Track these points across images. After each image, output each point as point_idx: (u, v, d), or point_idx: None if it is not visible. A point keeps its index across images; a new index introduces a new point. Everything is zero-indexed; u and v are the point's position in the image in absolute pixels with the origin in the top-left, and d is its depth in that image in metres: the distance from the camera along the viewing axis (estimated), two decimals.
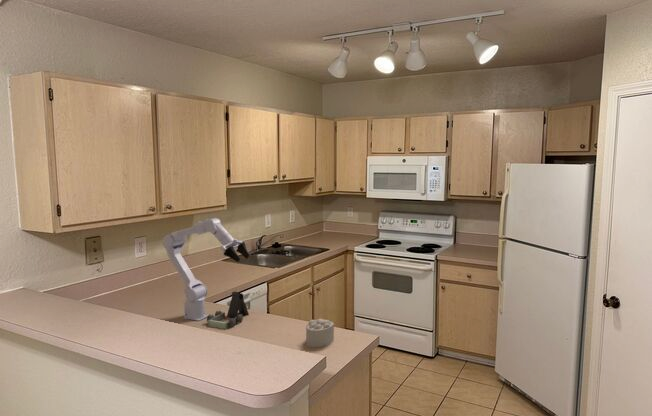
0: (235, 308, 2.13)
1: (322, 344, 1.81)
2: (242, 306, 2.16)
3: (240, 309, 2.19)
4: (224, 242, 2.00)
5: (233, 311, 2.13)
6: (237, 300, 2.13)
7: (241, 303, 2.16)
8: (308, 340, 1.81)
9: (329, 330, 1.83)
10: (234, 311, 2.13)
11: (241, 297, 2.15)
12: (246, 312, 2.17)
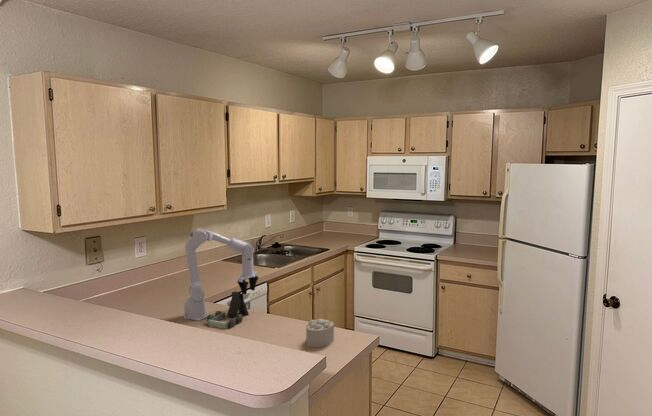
0: (235, 308, 2.13)
1: (322, 344, 1.81)
2: (242, 306, 2.16)
3: (240, 309, 2.19)
4: (245, 272, 2.21)
5: (233, 311, 2.13)
6: (237, 300, 2.13)
7: (241, 303, 2.16)
8: (308, 340, 1.81)
9: (329, 330, 1.83)
10: (234, 311, 2.13)
11: (241, 297, 2.15)
12: (246, 312, 2.17)
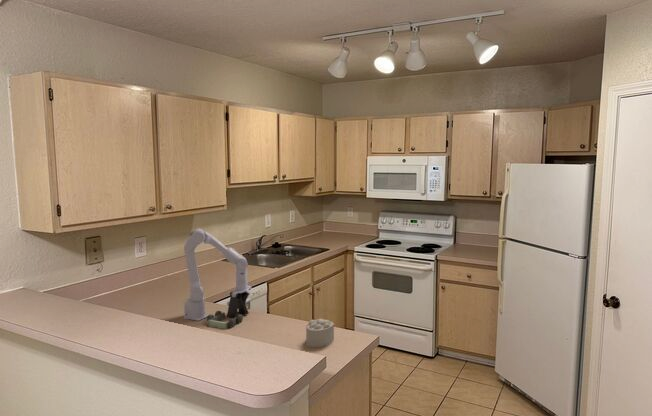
0: (234, 308, 2.12)
1: (322, 344, 1.81)
2: (241, 305, 2.16)
3: (240, 308, 2.18)
4: (238, 286, 2.16)
5: (233, 311, 2.13)
6: (236, 300, 2.13)
7: (240, 302, 2.15)
8: (308, 340, 1.81)
9: (329, 330, 1.83)
10: (233, 311, 2.12)
11: (239, 296, 2.14)
12: (246, 311, 2.17)
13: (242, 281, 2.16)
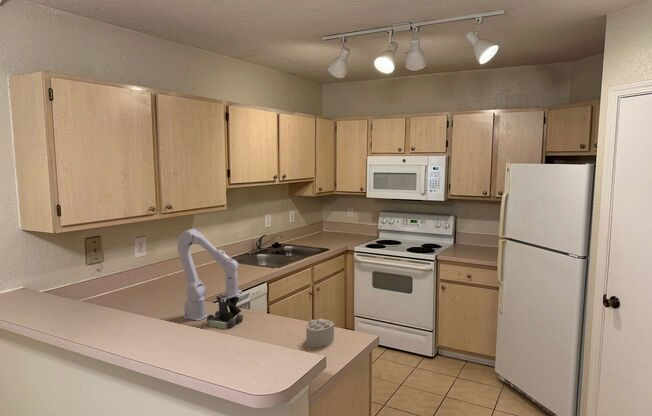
0: (225, 312, 2.06)
1: (322, 344, 1.81)
2: (231, 306, 2.09)
3: None
4: (228, 291, 2.08)
5: (224, 315, 2.07)
6: (224, 304, 2.06)
7: (229, 304, 2.08)
8: (308, 340, 1.81)
9: (329, 330, 1.83)
10: (225, 315, 2.07)
11: (227, 299, 2.07)
12: (238, 310, 2.11)
13: (229, 285, 2.08)
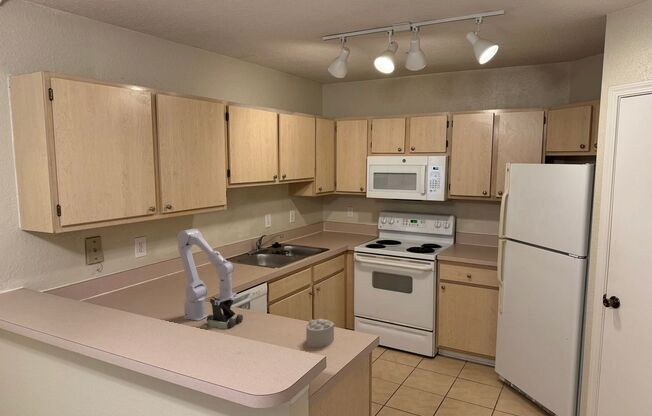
0: (218, 315, 2.02)
1: (322, 344, 1.81)
2: (225, 309, 2.05)
3: None
4: (222, 293, 2.04)
5: (218, 318, 2.03)
6: (217, 307, 2.01)
7: (223, 307, 2.04)
8: (308, 340, 1.81)
9: (329, 330, 1.83)
10: (219, 318, 2.03)
11: None
12: (232, 313, 2.07)
13: (222, 288, 2.04)
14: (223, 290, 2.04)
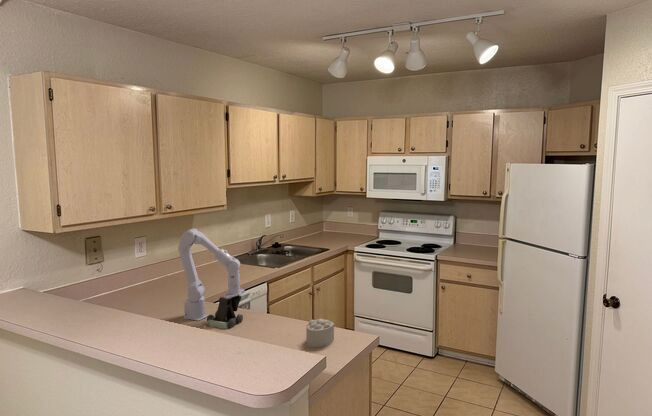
0: (223, 314, 2.04)
1: (322, 344, 1.81)
2: (230, 312, 2.07)
3: (228, 315, 2.10)
4: (230, 290, 2.10)
5: (221, 317, 2.04)
6: (225, 306, 2.05)
7: (229, 309, 2.07)
8: (308, 340, 1.81)
9: (329, 330, 1.83)
10: (222, 317, 2.04)
11: (229, 303, 2.06)
12: None
13: (233, 284, 2.10)
14: (232, 286, 2.10)
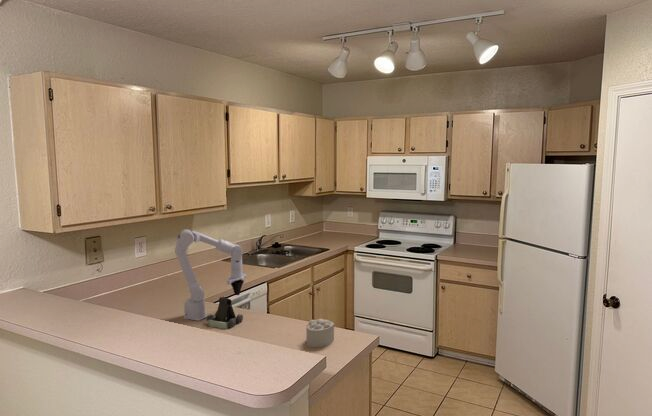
0: (223, 314, 2.04)
1: (322, 344, 1.81)
2: (230, 312, 2.07)
3: (228, 315, 2.10)
4: (233, 274, 2.17)
5: (221, 317, 2.04)
6: (225, 306, 2.05)
7: (229, 309, 2.07)
8: (308, 340, 1.81)
9: (329, 330, 1.83)
10: (222, 317, 2.04)
11: (229, 303, 2.06)
12: None
13: (237, 269, 2.17)
14: (234, 270, 2.17)
